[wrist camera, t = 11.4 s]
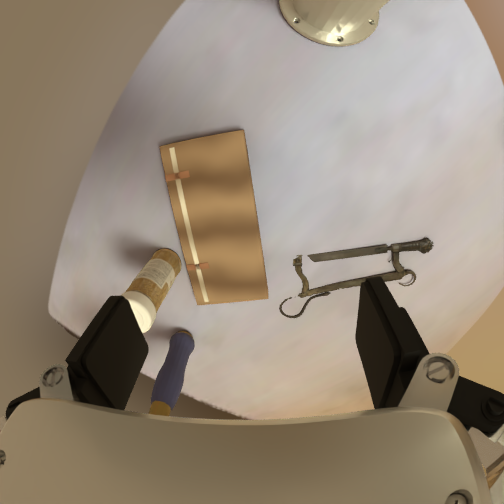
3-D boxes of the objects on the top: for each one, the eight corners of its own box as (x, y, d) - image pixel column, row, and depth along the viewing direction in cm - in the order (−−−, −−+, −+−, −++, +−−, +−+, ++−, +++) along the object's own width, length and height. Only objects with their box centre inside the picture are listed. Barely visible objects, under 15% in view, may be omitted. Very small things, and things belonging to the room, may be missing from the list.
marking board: (164, 145, 33) (159, 146, 31) (244, 129, 32) (242, 130, 30) (200, 297, 42) (197, 305, 40) (268, 290, 41) (268, 299, 39)
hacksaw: (431, 235, 37) (436, 239, 35) (424, 294, 41) (428, 299, 40) (272, 257, 39) (272, 262, 38) (280, 317, 43) (281, 323, 42)
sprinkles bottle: (172, 281, 41) (140, 342, 29) (146, 263, 40) (106, 318, 28) (188, 260, 40) (158, 318, 27) (161, 240, 39) (120, 292, 26)
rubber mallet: (222, 323, 44) (185, 516, 16) (222, 357, 47) (194, 527, 19) (146, 314, 44) (66, 478, 17) (152, 348, 47) (92, 499, 20)
